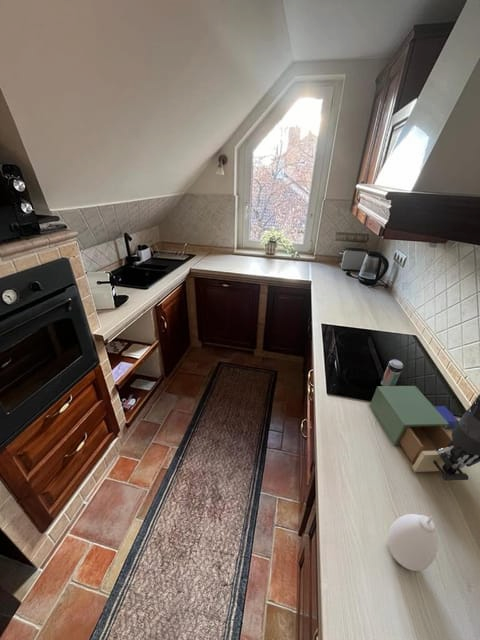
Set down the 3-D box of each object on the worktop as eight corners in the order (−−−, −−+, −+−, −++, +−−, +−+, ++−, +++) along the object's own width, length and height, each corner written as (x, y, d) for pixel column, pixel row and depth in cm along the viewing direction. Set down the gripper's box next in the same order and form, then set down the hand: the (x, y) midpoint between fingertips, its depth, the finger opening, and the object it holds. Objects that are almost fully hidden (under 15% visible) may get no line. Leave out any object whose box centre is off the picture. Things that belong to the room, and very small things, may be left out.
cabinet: (435, 444, 80) (449, 423, 76) (393, 445, 80) (404, 424, 75) (405, 405, 94) (415, 385, 89) (369, 405, 93) (377, 386, 89)
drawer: (471, 489, 68) (486, 472, 64) (426, 490, 67) (438, 474, 63) (422, 426, 85) (432, 410, 81) (386, 427, 84) (394, 411, 80)
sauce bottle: (416, 590, 52) (455, 554, 43) (376, 555, 56) (404, 516, 47) (424, 554, 57) (461, 515, 48) (387, 525, 61) (414, 484, 52)
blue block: (428, 412, 91) (432, 406, 89) (440, 412, 91) (444, 406, 90) (442, 428, 86) (446, 421, 84) (454, 428, 86) (459, 421, 84)
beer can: (383, 379, 106) (393, 357, 100) (395, 386, 103) (406, 363, 97) (378, 384, 103) (387, 361, 97) (390, 391, 100) (401, 368, 94)
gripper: (465, 445, 56) (433, 487, 64) (522, 444, 56) (482, 486, 65) (440, 417, 62) (414, 458, 71) (491, 416, 63) (460, 458, 72)
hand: (447, 471), depth 68 cm, fingers closed
